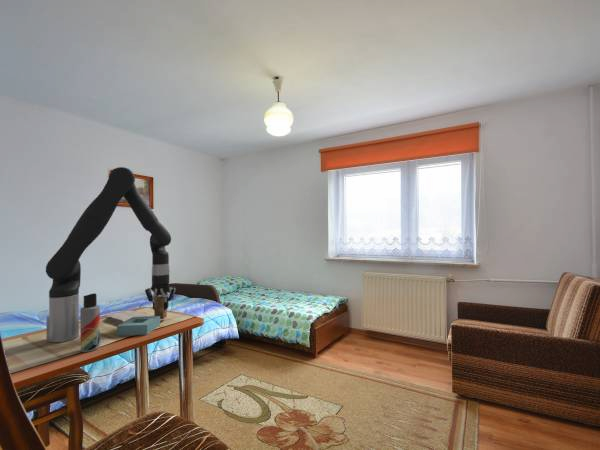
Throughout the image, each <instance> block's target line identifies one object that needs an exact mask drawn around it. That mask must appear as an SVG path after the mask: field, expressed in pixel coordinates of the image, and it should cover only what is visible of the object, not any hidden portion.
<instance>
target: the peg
mask: <svg viewBox="0 0 600 450" xmlns="http://www.w3.org/2000/svg"><path fill="white" fill-rule="evenodd" d="M167 310H168V309H167ZM167 310H164V297H162V295H159V296H158V297H156V298H154V309H153V311H154V313H153V315H154V316H160V320H164V319H165V318H166V317H168V313H167V312H168V311H167Z"/></svg>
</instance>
